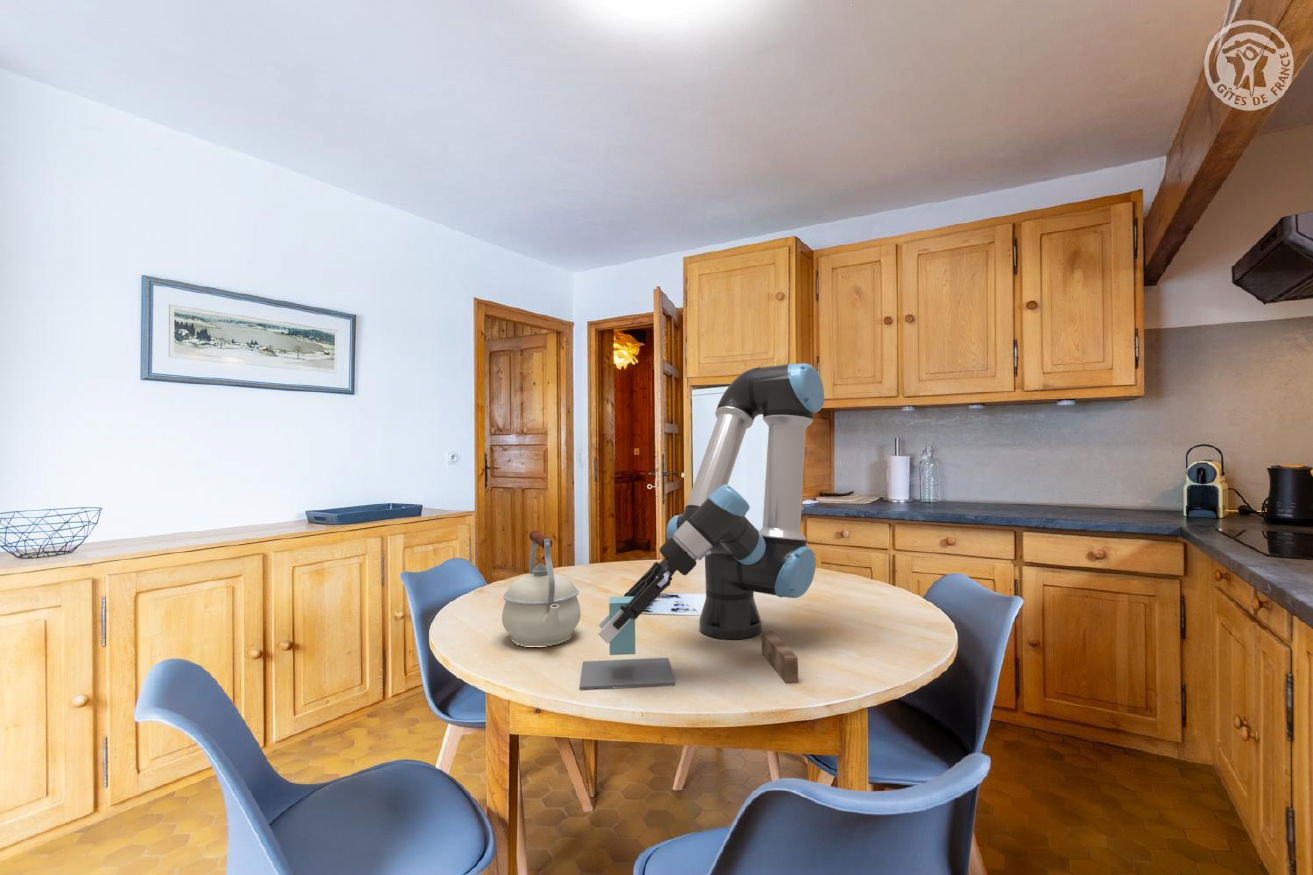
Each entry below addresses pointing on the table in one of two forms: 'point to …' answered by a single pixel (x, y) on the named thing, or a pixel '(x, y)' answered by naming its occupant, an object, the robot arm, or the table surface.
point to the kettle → (541, 602)
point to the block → (626, 637)
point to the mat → (626, 673)
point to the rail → (780, 657)
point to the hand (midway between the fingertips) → (603, 633)
